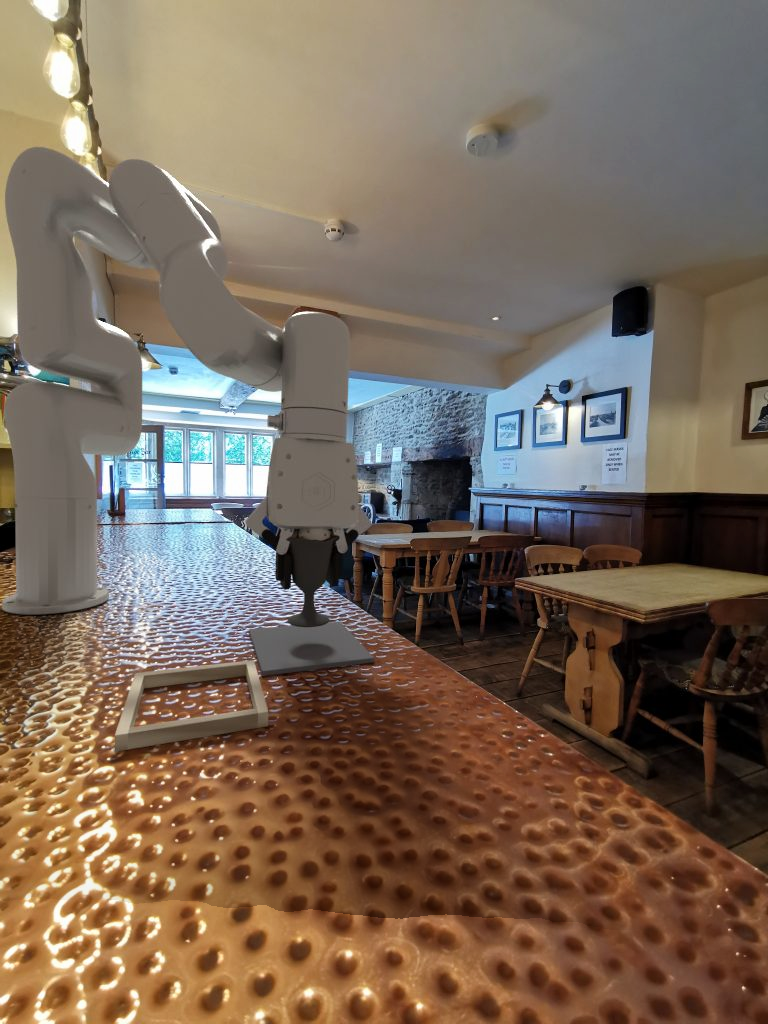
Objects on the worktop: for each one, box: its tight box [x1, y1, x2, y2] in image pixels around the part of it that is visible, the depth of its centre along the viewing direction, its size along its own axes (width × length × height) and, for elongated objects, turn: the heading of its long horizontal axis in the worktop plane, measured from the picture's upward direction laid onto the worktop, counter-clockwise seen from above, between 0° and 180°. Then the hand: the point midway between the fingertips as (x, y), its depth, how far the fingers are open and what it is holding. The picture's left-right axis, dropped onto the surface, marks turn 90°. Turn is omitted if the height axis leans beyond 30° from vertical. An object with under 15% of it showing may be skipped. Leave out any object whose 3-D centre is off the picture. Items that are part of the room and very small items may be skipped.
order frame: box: [114, 659, 269, 753], centre depth 38 cm, size 11×11×1 cm
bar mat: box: [248, 621, 375, 677], centre depth 52 cm, size 13×12×1 cm
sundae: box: [286, 528, 340, 627], centre depth 52 cm, size 7×7×15 cm
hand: (309, 583), depth 52 cm, fingers closed on sundae, 4 cm apart
